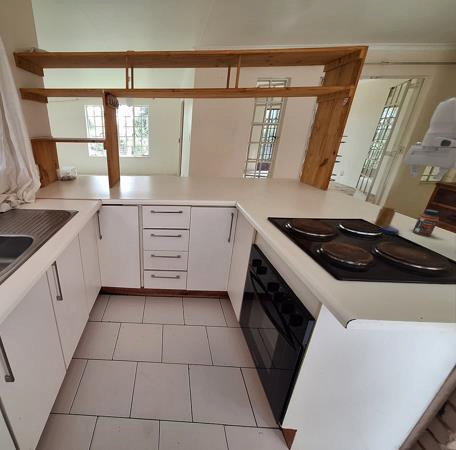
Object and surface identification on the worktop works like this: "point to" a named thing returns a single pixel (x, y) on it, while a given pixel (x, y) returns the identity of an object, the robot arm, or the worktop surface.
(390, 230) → the jar lid
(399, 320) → the worktop surface
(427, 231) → the supplement bottle
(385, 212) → the jam jar
